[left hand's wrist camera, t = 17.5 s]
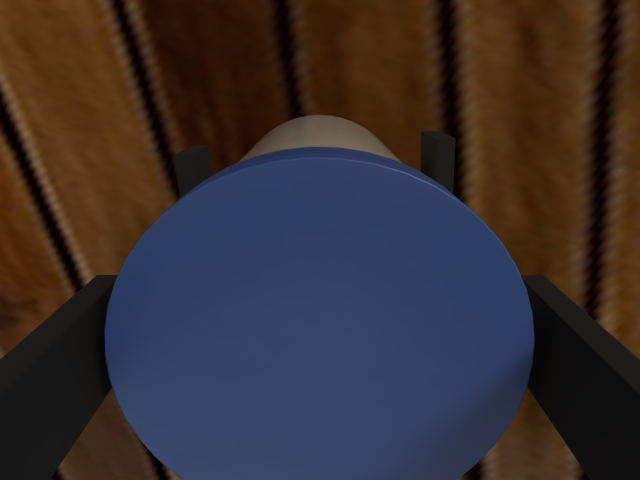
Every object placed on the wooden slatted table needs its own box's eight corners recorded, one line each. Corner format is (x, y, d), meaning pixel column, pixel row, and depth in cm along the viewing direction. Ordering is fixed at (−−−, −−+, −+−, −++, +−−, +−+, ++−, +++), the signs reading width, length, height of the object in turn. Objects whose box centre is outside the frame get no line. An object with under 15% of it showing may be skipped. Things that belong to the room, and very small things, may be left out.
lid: (328, 522, 15) (329, 571, 13) (57, 344, 12) (21, 380, 11) (586, 325, 12) (623, 359, 11) (305, 46, 10) (302, 40, 8)
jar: (204, 197, 26) (50, 353, 11) (321, 76, 24) (324, 69, 9) (318, 301, 29) (315, 542, 14) (434, 201, 26) (586, 360, 11)
